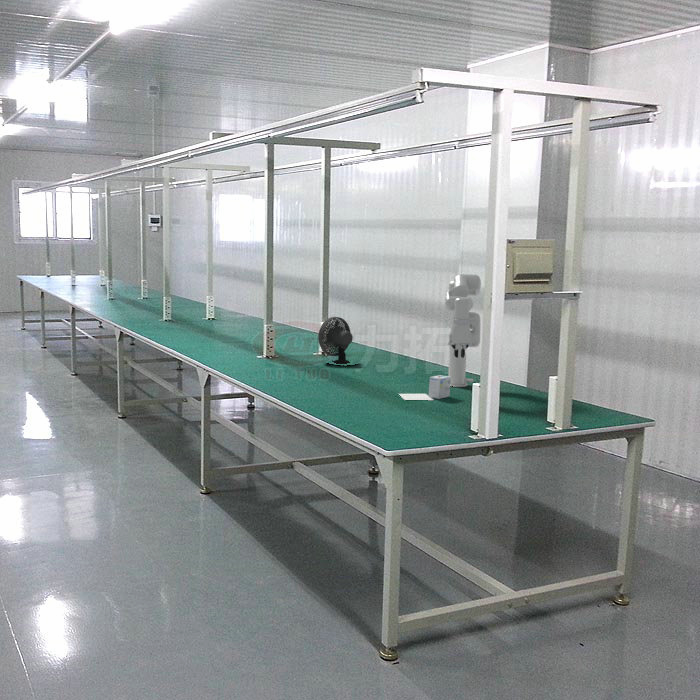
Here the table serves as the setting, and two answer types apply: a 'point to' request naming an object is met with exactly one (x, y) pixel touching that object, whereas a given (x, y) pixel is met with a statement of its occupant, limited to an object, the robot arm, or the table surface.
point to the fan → (335, 338)
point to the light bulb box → (439, 386)
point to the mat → (415, 397)
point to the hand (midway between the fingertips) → (459, 357)
